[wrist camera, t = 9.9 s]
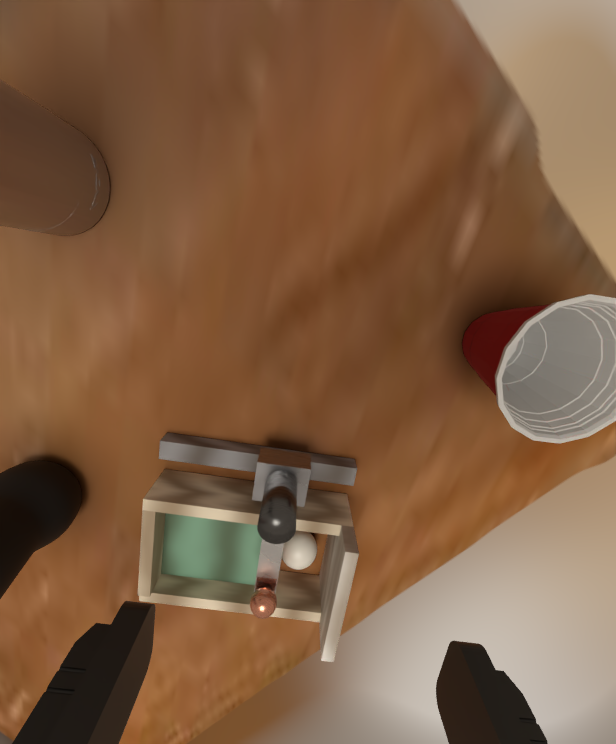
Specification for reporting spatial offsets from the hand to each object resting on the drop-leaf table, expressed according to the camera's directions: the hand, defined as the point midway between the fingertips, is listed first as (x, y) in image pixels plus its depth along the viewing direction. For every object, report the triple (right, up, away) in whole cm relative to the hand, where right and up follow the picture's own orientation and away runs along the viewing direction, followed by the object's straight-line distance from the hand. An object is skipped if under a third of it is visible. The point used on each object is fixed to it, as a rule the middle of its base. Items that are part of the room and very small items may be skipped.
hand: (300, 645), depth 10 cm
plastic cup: (+18, +10, +27) cm, 34 cm away
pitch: (-6, -9, +31) cm, 33 cm away
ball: (-1, -12, +30) cm, 32 cm away
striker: (-3, -7, +28) cm, 29 cm away
